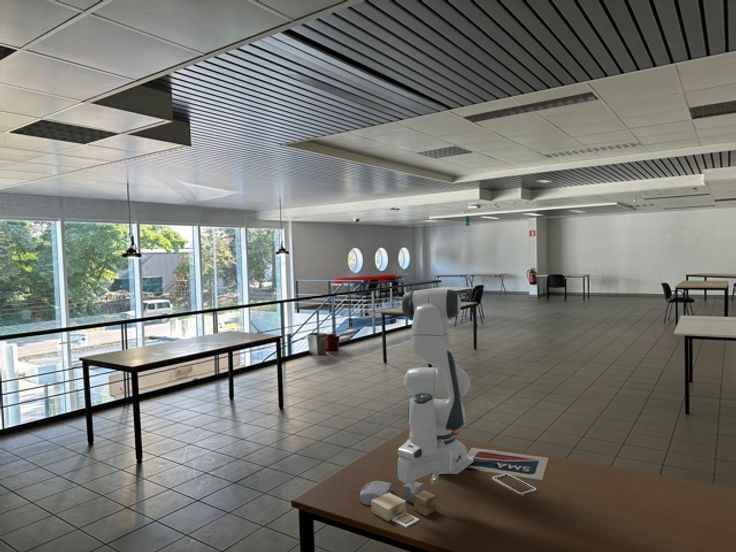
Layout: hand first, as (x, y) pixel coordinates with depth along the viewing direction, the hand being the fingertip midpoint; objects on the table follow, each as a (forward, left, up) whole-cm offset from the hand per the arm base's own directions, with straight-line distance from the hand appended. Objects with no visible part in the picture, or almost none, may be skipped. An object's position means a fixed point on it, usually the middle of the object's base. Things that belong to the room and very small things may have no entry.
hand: (424, 488), depth 157 cm
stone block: (+5, -19, -8) cm, 21 cm away
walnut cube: (-1, 0, -8) cm, 8 cm away
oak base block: (+8, -8, -8) cm, 14 cm away
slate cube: (-4, -8, -8) cm, 12 cm away
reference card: (+8, 0, -8) cm, 11 cm away
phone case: (-37, +10, -8) cm, 39 cm away
